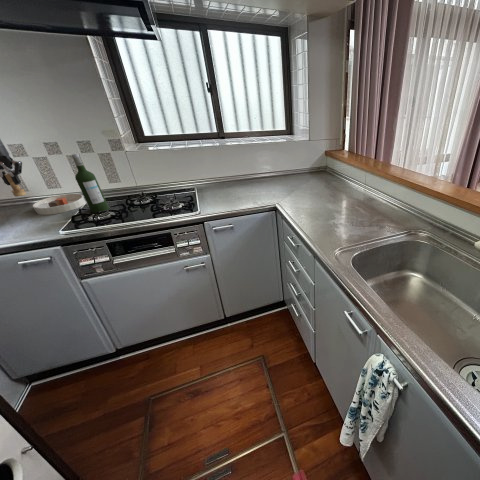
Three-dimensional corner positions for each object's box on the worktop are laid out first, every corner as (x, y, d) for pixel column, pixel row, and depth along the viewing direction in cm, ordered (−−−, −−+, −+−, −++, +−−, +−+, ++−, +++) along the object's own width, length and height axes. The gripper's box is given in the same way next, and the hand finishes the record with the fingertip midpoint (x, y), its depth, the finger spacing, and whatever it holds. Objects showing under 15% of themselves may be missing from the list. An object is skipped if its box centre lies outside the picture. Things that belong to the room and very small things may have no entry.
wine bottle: (103, 206, 150) (77, 152, 134) (112, 208, 147) (88, 153, 132) (88, 212, 143) (60, 155, 128) (98, 214, 141) (71, 156, 126)
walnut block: (51, 209, 145) (47, 203, 143) (54, 207, 148) (51, 201, 146) (59, 208, 146) (55, 202, 144) (62, 206, 149) (59, 200, 147)
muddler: (12, 196, 122) (-2, 175, 116) (17, 193, 125) (5, 172, 120) (22, 196, 122) (10, 174, 117) (28, 193, 126) (16, 172, 121)
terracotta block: (57, 206, 149) (54, 200, 147) (61, 203, 152) (57, 198, 150) (65, 205, 150) (62, 199, 148) (68, 203, 153) (65, 197, 151)
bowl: (27, 218, 137) (22, 210, 135) (50, 203, 155) (46, 196, 153) (76, 213, 143) (72, 205, 140) (92, 199, 160) (89, 192, 158)
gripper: (16, 142, 117) (37, 180, 126) (-24, 144, 114) (1, 183, 123) (4, 145, 111) (27, 185, 120) (-39, 147, 108) (-12, 188, 116)
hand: (14, 184), depth 121 cm, fingers closed on muddler, 2 cm apart
